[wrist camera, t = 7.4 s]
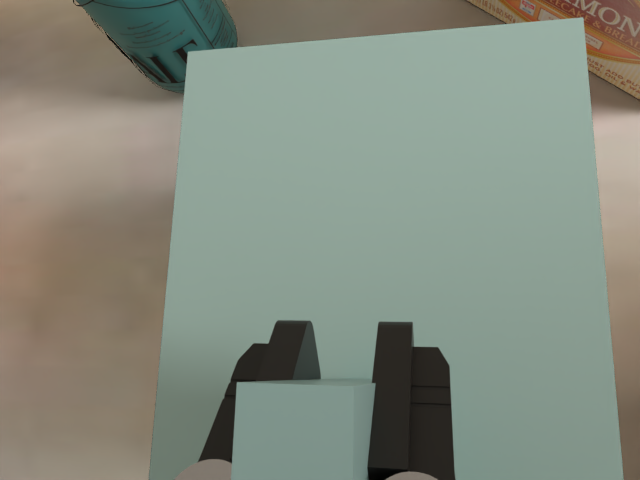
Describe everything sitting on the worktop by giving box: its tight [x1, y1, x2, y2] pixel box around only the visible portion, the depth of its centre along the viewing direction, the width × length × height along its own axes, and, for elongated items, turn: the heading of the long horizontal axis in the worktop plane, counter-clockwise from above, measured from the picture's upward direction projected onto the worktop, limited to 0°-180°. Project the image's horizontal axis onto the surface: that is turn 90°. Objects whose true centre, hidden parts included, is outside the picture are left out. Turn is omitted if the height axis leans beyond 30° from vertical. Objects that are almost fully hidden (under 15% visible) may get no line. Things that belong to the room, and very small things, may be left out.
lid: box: [149, 17, 624, 480], centre depth 13 cm, size 17×13×11 cm
